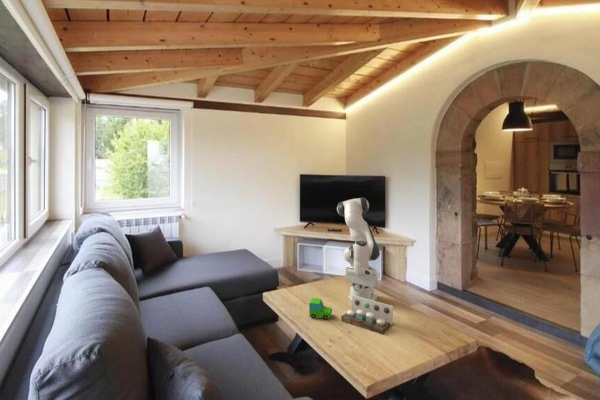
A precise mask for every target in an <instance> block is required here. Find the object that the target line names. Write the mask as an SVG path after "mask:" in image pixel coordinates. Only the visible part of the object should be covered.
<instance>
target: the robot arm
mask: <svg viewBox="0 0 600 400" xmlns="http://www.w3.org/2000/svg"><path fill="white" fill-rule="evenodd" d="M369 206H370V204H369V201H368V200H367V198H365V197H358V198H352V199H347V200H344V201H340V202H338V204H337V207H336V211H337V213H338V215H339V216H341V217H344V221H345V224H346V226H347V227H348V228H349V234H350V235H349V236H350V238H351V240H352V241H353V242H354V241H355V242H354V243H353V244H351V245H350V246H348V247H345V249H343V258H344V260H345V261H346V262H348V264H349V265H350V266H349V265H348V266H347V267H345V276H344V280H345V282H346V283H351V284H352V286H350V291H349V295H348V296H347V297H348V299H349V300H350V302H352V295H353V296H357V297H361V298H365V299H369V300H373V301H377V299H378V294H376V293H375V288H376V287H378V284H379V282H378V280H379V279H378V275H377V274H376V273H377V272H378V271H377V269H376V268H374V267H372V266H370V265H369V264H370V263H369V262H372V261H376V260H378V259H379V257H380V255H381V254H380V248H379V245H378V244H377V242H376V240H375V236H374V235H373V232H372V229H371V226H370V224H369V223H368V222H367V221H366V220H364V218H363V215H364V216H365V215H366V213H368V211H369V208H370V207H369Z"/></svg>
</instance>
